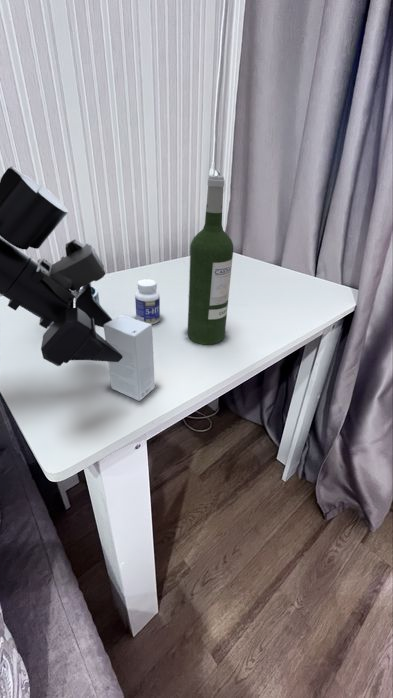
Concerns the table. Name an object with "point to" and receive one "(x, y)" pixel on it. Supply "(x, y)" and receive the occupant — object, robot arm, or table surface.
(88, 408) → the table surface
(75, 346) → the robot arm
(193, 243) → the wine bottle
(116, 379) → the cosmetic box
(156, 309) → the pill bottle
